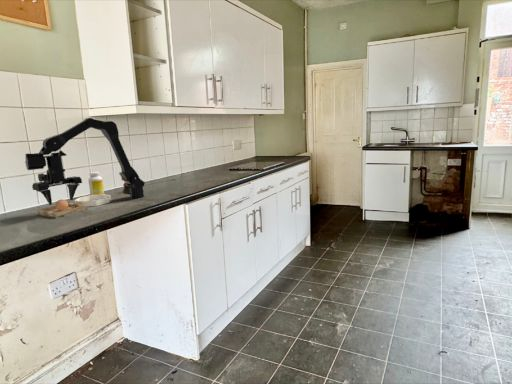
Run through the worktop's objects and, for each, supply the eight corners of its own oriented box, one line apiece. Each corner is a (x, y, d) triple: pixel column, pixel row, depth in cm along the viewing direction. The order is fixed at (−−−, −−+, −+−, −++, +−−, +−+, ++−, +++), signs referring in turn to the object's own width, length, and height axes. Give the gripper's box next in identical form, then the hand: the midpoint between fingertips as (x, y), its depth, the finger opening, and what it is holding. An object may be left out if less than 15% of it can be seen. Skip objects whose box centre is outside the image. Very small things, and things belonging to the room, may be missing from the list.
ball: (71, 209, 156) (69, 198, 155) (60, 212, 151) (58, 201, 150) (65, 208, 158) (63, 198, 157) (54, 211, 154) (52, 200, 153)
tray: (87, 210, 157) (86, 205, 156) (55, 218, 145) (54, 213, 145) (69, 207, 164) (69, 202, 164) (38, 214, 153) (37, 209, 153)
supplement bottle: (107, 195, 188) (103, 171, 185) (96, 198, 182) (92, 173, 180) (99, 194, 191) (96, 171, 189) (88, 197, 186) (84, 173, 183)
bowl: (116, 201, 171) (116, 195, 171) (88, 209, 159) (87, 202, 158) (98, 199, 179) (97, 193, 179) (69, 206, 167) (68, 199, 166)
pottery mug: (118, 194, 191) (120, 180, 194) (133, 199, 198) (135, 185, 201) (130, 190, 184) (132, 176, 187) (145, 195, 191) (147, 181, 194)
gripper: (66, 163, 163) (71, 196, 166) (22, 169, 147) (29, 205, 151) (80, 164, 157) (85, 198, 160) (36, 170, 141) (42, 208, 145)
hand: (61, 202), depth 154 cm, fingers open, 9 cm apart
